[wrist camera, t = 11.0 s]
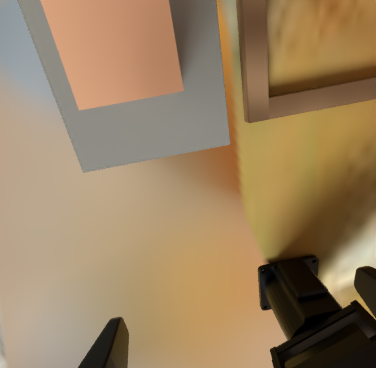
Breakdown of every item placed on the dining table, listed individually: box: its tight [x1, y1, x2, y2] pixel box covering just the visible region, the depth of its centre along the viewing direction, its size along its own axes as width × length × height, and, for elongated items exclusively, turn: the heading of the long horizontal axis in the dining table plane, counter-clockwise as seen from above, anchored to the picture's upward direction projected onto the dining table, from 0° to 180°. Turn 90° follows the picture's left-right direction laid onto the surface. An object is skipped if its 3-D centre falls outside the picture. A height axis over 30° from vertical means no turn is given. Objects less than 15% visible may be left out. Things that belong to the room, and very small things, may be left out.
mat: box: [17, 0, 230, 172], centre depth 15 cm, size 14×12×1 cm
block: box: [40, 0, 184, 110], centre depth 12 cm, size 5×5×6 cm
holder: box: [236, 0, 376, 123], centre depth 15 cm, size 11×15×1 cm
